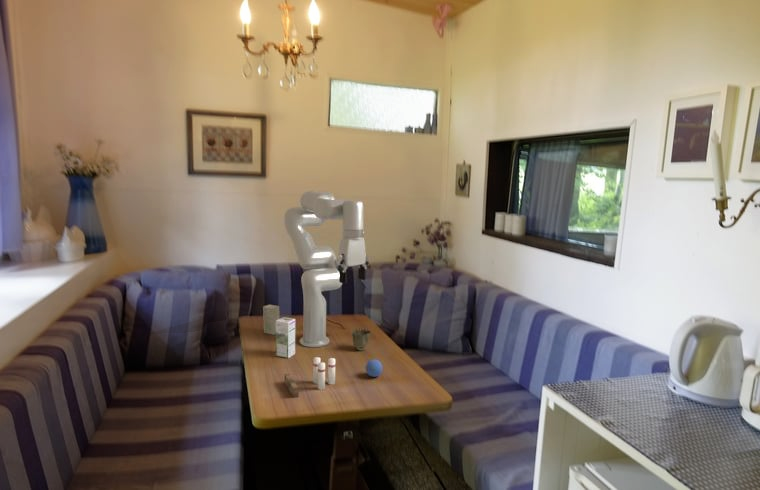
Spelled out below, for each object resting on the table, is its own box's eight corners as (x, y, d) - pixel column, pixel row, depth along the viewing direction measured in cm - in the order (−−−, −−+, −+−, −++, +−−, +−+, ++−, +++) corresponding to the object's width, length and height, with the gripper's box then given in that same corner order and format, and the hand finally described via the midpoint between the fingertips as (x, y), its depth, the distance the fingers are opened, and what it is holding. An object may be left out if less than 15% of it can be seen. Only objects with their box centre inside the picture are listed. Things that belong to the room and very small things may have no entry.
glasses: (322, 324, 230) (323, 314, 229) (345, 329, 223) (345, 319, 223) (305, 331, 219) (305, 321, 218) (328, 337, 212) (328, 326, 211)
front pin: (326, 382, 164) (327, 358, 163) (333, 381, 165) (334, 357, 164) (329, 385, 162) (329, 361, 161) (336, 383, 163) (336, 360, 162)
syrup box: (295, 353, 190) (296, 318, 188) (288, 358, 184) (288, 322, 182) (283, 351, 192) (283, 316, 190) (275, 356, 186) (275, 320, 184)
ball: (362, 374, 172) (363, 358, 171) (377, 371, 175) (378, 356, 174) (369, 380, 167) (370, 364, 166) (385, 378, 169) (385, 361, 168)
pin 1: (311, 381, 165) (312, 357, 163) (318, 380, 166) (319, 356, 165) (314, 384, 162) (314, 360, 161) (321, 383, 163) (321, 359, 162)
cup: (367, 353, 192) (368, 334, 191) (349, 352, 193) (350, 332, 192) (371, 347, 199) (372, 329, 198) (354, 345, 201) (354, 327, 200)
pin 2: (316, 387, 160) (316, 362, 159) (323, 386, 161) (323, 361, 160) (318, 390, 158) (319, 365, 157) (326, 389, 159) (326, 364, 158)
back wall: (284, 382, 163) (284, 374, 162) (288, 382, 163) (288, 373, 163) (293, 397, 152) (294, 388, 152) (298, 396, 153) (298, 387, 152)
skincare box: (280, 332, 215) (280, 306, 213) (273, 335, 211) (273, 308, 209) (270, 330, 218) (270, 304, 216) (262, 332, 214) (262, 306, 212)
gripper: (362, 232, 182) (361, 276, 184) (328, 235, 169) (328, 282, 171) (376, 233, 177) (376, 279, 179) (342, 236, 164) (342, 285, 166)
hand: (352, 281), depth 175 cm, fingers open, 9 cm apart
